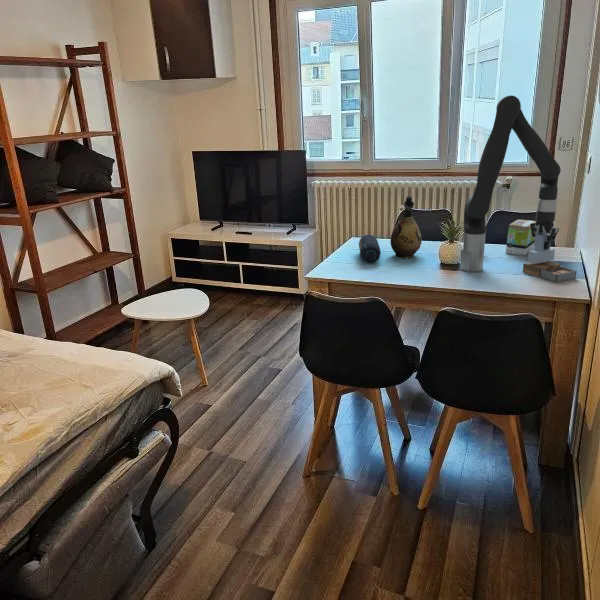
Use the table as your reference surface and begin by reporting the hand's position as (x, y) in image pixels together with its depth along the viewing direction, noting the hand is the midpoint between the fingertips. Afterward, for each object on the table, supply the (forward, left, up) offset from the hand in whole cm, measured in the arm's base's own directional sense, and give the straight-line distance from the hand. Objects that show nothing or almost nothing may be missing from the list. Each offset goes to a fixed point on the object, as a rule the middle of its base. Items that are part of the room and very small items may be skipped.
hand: (541, 248), depth 232 cm
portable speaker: (-53, +59, -11) cm, 80 cm away
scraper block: (0, 0, -6) cm, 6 cm away
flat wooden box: (0, -1, -11) cm, 11 cm away
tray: (0, -10, -11) cm, 15 cm away
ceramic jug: (-35, +53, -11) cm, 65 cm away
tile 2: (+3, -11, -8) cm, 14 cm away
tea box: (+18, +30, -11) cm, 37 cm away
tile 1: (-3, -11, -8) cm, 14 cm away
